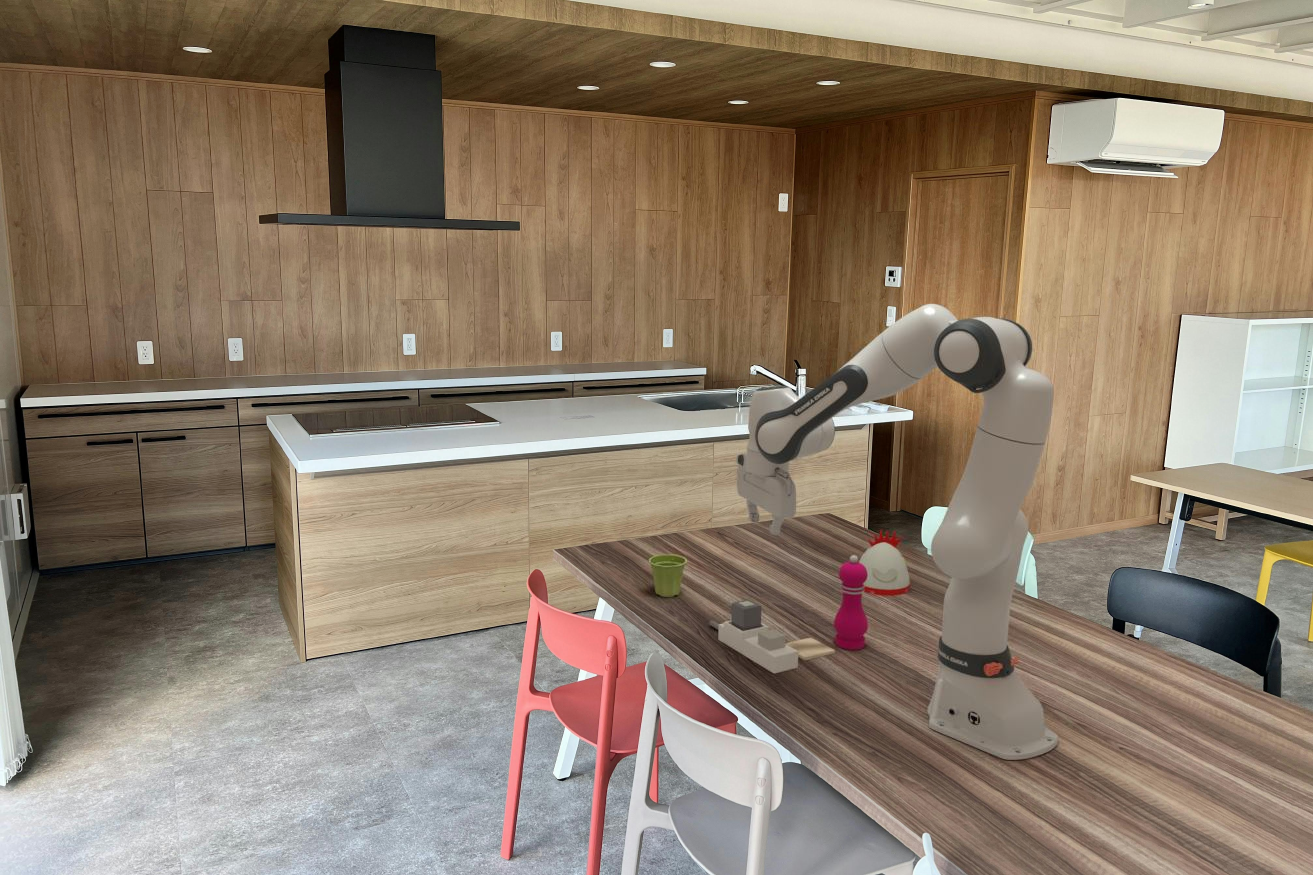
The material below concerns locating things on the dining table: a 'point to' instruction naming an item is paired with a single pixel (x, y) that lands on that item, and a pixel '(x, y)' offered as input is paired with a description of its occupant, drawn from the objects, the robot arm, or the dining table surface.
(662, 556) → the plant pot
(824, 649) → the coaster
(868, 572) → the kitchen timer
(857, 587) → the pepper mill
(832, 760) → the dining table surface
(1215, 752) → the dining table surface
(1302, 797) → the dining table surface
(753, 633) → the power strip
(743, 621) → the block
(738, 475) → the robot arm
